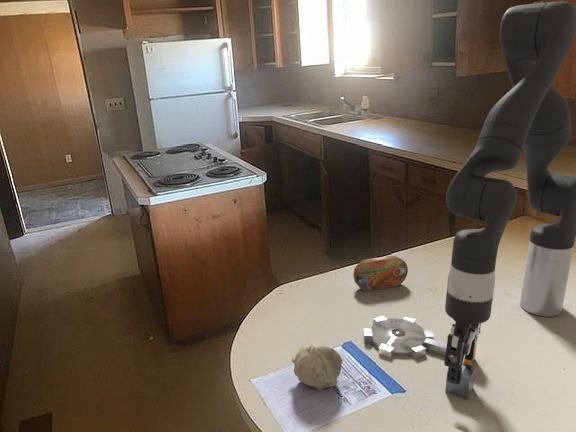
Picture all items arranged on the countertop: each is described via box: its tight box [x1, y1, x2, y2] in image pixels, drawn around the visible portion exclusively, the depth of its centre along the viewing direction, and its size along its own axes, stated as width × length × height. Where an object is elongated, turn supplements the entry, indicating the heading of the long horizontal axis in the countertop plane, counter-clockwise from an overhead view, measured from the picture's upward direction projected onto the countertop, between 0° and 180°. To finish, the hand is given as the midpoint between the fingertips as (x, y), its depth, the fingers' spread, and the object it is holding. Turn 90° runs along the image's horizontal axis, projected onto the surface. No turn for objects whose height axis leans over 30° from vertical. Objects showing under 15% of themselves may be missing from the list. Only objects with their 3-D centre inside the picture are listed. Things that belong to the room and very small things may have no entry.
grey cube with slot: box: [444, 364, 476, 401], centre depth 90 cm, size 4×4×5 cm
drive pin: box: [424, 338, 478, 367], centre depth 100 cm, size 3×10×6 cm, turn 56°
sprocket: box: [363, 315, 435, 359], centre depth 107 cm, size 15×14×2 cm
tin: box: [352, 255, 409, 292], centre depth 131 cm, size 15×3×8 cm, turn 105°
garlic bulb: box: [291, 341, 343, 391], centre depth 93 cm, size 9×8×10 cm
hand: (460, 369), depth 89 cm, fingers open, 8 cm apart
